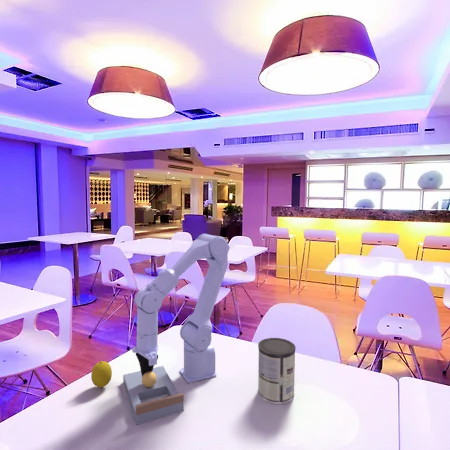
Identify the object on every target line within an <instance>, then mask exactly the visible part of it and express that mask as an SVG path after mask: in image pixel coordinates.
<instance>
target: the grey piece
mask: <svg viewBox="0 0 450 450" xmlns="http://www.w3.org/2000/svg"><path fill="white" fill-rule="evenodd" d="M152 372H153V373H155V375H156V378H157V379H156V383H155V384H154V385H153V386H152V387H145V386H144V385H143V383H142V374H141V370H140V371H139V370H138V371H134V372H130V373H126V374H123V375H122V377H123V380H122V381H123V385H124V389H125V391H126V395H127V400H128V401H129V404H130V407H131V411H132V415H133V417H134V421H135V424H136V425H142V424H144V423H147V422H151V421H155V420H158V419H161V418H165V417H167V416H171V415H174V414H177V413H182V412H184V410H185V408H184V407H185V404H184V403H185V402H184V401H185V399H184V397H185V395H184V393H183V392H179V391H178V389H177V388H176V386H175V384H174V383H173V381H172V379H171V378H170V375H169V374H168V372H167V370H166V369H165V367H164V365H161V366H156V367H153V371H152ZM165 395H166V397H162V398H157V397H160V396H165ZM152 398H157V399H153V400H150V401H147V402H142V401H145V400H149V399H152Z"/></svg>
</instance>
